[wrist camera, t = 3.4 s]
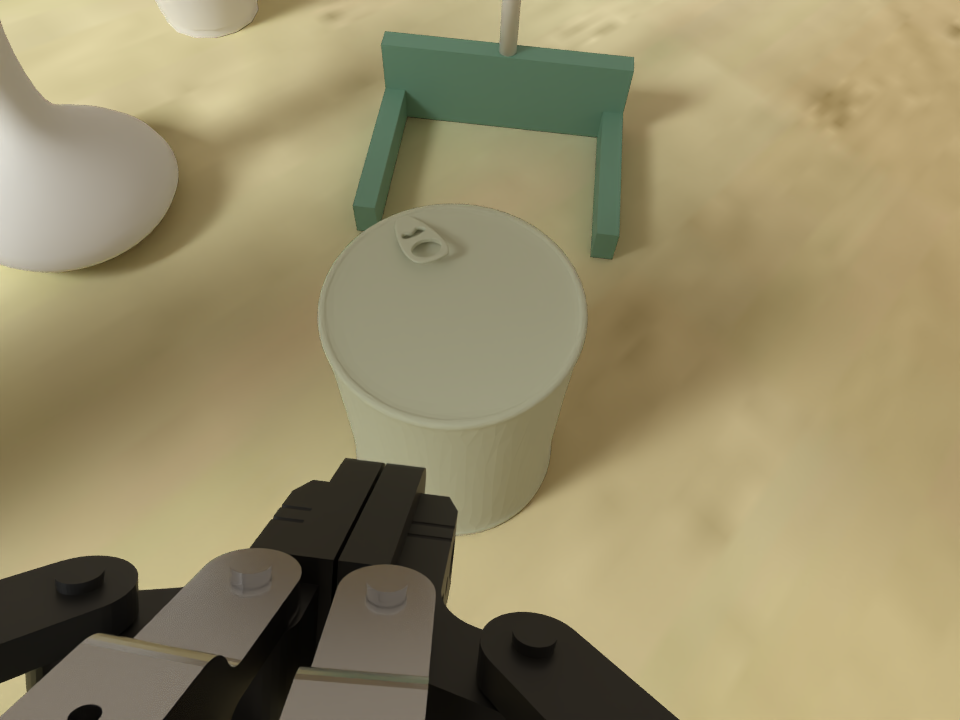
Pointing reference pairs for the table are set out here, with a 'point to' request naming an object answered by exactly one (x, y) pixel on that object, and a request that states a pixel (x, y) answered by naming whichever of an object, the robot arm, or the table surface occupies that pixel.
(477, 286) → the can
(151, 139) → the flower in vase
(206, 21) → the foam cup
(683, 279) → the table surface
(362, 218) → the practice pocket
